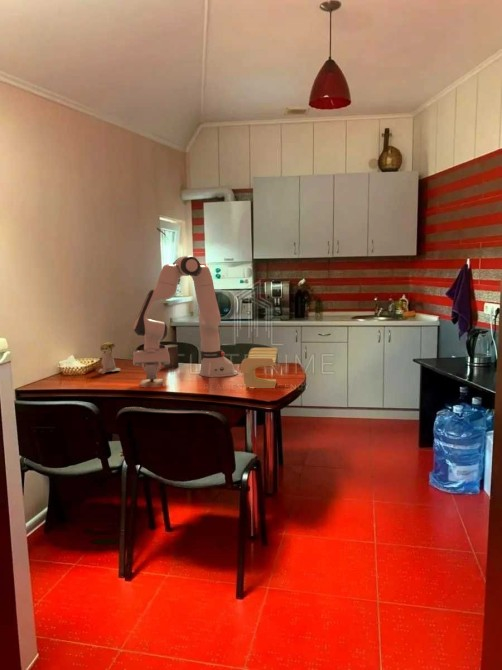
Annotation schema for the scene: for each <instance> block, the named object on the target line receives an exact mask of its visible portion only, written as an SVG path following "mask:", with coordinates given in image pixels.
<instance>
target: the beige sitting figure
mask: <svg viewBox="0 0 502 670" xmlns="http://www.w3.org/2000/svg"><path fill="white" fill-rule="evenodd" d="M115 346H116V344H115V343H114V342H109V341H107V342H104V343H102V345H100V347H99V348H100V349H99V350H100V351H101V352H103V355H102V359H101V363H100V364H101V366H102V367H103V368H100V369H99V370H98V373H99V374H102V375H103V374H105V373H109V372H113V373H114V372H121V368H119V367H117V366H116V363H115V359H114V356H113V354H112V353H113V349H114V348H115Z"/></svg>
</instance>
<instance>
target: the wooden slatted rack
mask: <svg viewBox="0 0 502 670" xmlns="http://www.w3.org/2000/svg"><path fill="white" fill-rule="evenodd" d="M277 356H278V347H251V348H250V350H249V351H248V354H247V357H246V358H243V360H242V361H241V362H240V373H242V374H243V382H244V385H245V386H246V387H247V388H248V387H255V388H274V389H275V388H276V385H277V379H267V378H260V377H258V376H256V374H255V372H256V371H255V370H256V369H257V368H262V367H274V366H275V364H276V362H277Z"/></svg>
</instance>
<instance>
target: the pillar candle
mask: <svg viewBox="0 0 502 670" xmlns="http://www.w3.org/2000/svg"><path fill="white" fill-rule="evenodd" d="M164 345H165V344H164ZM165 346H167V348H168V352H169V356H170V363H169V364H163V366H162V367H163V368H164V369H176V368H179V367H180V366H179V365H180V364H179V347H178V344H167V345H165Z"/></svg>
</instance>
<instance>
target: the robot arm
mask: <svg viewBox="0 0 502 670" xmlns="http://www.w3.org/2000/svg"><path fill="white" fill-rule="evenodd" d="M183 276H185V277H187V276H188V277H189V276H190V277H191V278H192V281H193V286H194V291H195V292H194V293H195V299H196V302H197V305H198V310H199V314H198V325H199V326H198V327H199V334H200V360H201V361H200V368H199V369H200V370H199V375H200V376H202V377H208V378H219V377H220V378H221V377H222V378H223V377H230V376H231V377H232V376H237V375H238V370H236V369H235V367H234V364H233V362H232V361H231V360H230V359H228V358H227V357H225V354H226V353H225V352H224V351H223V350H222V349H221V337H220V331H219V326H220V324H221V322H222V318H221V312H220V308H219V304H218V300H217V296H216V291H215V286H214V280H213V275H212V273H211V270H210V268H209V267H208V266H207V265H202V263H200V262H199V260H198V259H197V258H196V257H195V256H193V255H183V256H181V257H178V258H177V259H175V261H174V262H173V263H172V264H171V263H168V264H165V265H163V266H162V268H161V271H160V273H159V275H158V279H157V283H156V285H155V287H154V288H153V289H151V290H149V292H148V294H147V295H146V297H145V300H144V302H143V304H142V305H141V306H142V307H141V309H140V312H139V313H138V316H137V318H136V319H135V321H134V324H133V331H134V334H135V335H137V336H142V337H144V339H143V340H144V343H143V349H140V350H138V349H136V350H134V351H133V352H132V356H133V357H132V363H133V366H135V367H136V366H137V367H138V366H142V369H143V372H145V373H146V364H147V363H156V366H157V367H156V371H157V372H159V371H160V368H161V367H162V365H163V364H169V363H170V356H169V352H168V348H167V346H165V344H161V341H163V340H164V339H166V337H167V335H168V325H167V323H166V322H164V321H160V320H154V319H151V318H148V314H149V312H150V310H151V307H152V306H153V304H155V302H159V301H167V300H170V299H172V298H173V297H174V296H175V295H176V292H177V289H178V285H179V280H180V278H181V277H183Z"/></svg>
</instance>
